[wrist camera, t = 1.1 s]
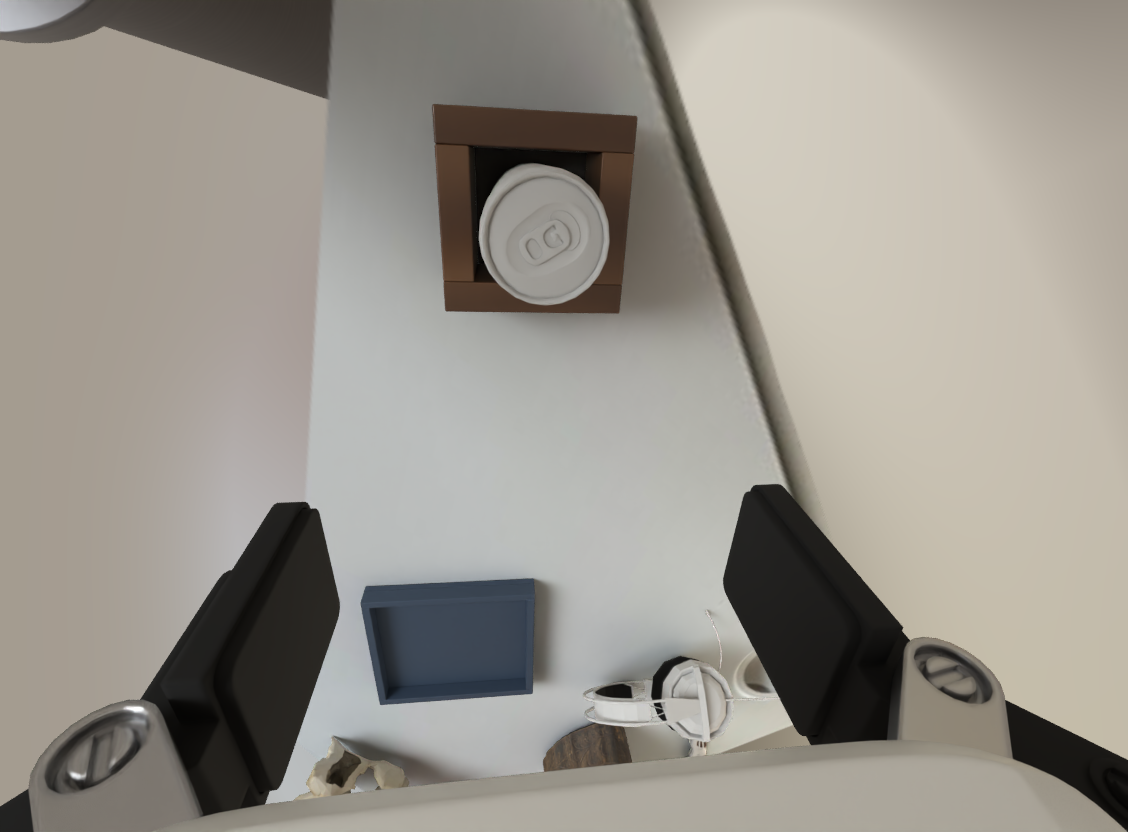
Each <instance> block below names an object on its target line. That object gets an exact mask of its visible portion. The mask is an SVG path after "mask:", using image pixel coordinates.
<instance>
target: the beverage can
mask: <svg viewBox="0 0 1128 832" xmlns="http://www.w3.org/2000/svg"><path fill="white" fill-rule="evenodd" d="M479 243H480V249H481V254H482V258H483V260H484V262H485V264H486V267H487V269H488V271H489V273H490V274H491V275H492V277H493V278H494V279H495V280H496V282H497V283H498V284H499V285H500V286H501V287H502V288H503V289H505V290H506V291H507V292H509V293H510V294H511V295H513V296H514V297H516V298H518V299H521V300H523V301H525V302H528V303H531V304H539V305H553V304H560V303H564V302H566V301H568V300H571V299H573V298H576V297H577V296H579V295H580V294H581V293H583V292H584V291H585V290H587V289H588V288H589V287H590V286H591V285H592V283H593V282H594V281H595V280H596V278H597V277H598V276H599V275H600V272H601V270H602V268H603V266H604V264H605V261H606V259H607V253H608V248H609V243H610V242H609V224H608V219H607V216H606V213H605V210H604V207H603V204H602V202H601V201H600V199H599V198H598V196H597V195H596V193H595V192H594V190H593V189H592V188H591V187H590V186H589V185H588V184H587V183H586V182H584V181H583V180H582V179H581V178H580V177H579V176H577V175H575V174H573V173H570V172H568V171H566V170H564V169H562V168H557V167H552V166H547V165H543V164H537V163H531V162H530V163H522V164H518V165H516V166H513V167H511V168H509V169H508V170H507V171H506V172H505V173H504V174H503V175H502V176H501V177H500V178H499V179H498V181H497V182H496V184H495V186H494V187H493V189H492V192H491V194H490V196H489V197H488V199H487V201H486V204H485V207H484V210H483V213H482V215H481V218H480V227H479Z"/></svg>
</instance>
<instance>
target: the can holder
mask: <svg viewBox="0 0 1128 832" xmlns="http://www.w3.org/2000/svg"><path fill="white" fill-rule="evenodd" d="M432 112H433V127H434V142H435V143H436V144H435V158H436V173H437V189H438V204H439V220H440V235H441V251H442V266H443V280H444V298H445V310H446V311H458V312H537V313H616V314H618V313H619V311H620V301H621V290H622V279H623V269H624V258H625V247H626V237H627V226H628V215H629V204H630V194H631V183H632V172H633V162H634V154H632V153H634V149H635V139H636V128H637V116H631V115H614V114H597V113H579V112H562V111H545V110H528V109H511V108H494V107H477V106H460V105H443V104H433V105H432ZM474 147H480V148H500V149H520V150H541V151H561V152H581V153H587V154H586V173H585V182H586V183H587V184H588V185H589V186H590V187H591V188H592V189H593V190H594V192H595V193H596V195H597V196H598V198H599V199H600V201H601V202H602V204H603V207H604V210H605V213H606V216H607V219H608V224H609V242H610V243H609V248H608V253H607V259H606V261H605V264H604V266H603V268H602V270H601V272H600V275H599V276H598V277H597V278H596V280H595V281H594V282H593V283H592V285H591V286H590V287H589V288H588V289H587V290H585V291H584V292H583V293H581V294H580V295H579V296H577V297H576V298H573V299H571V300H568V301H566V302H564V303H560V304H553V305H539V304H531V303H528V302H525V301H523V300H521V299H518V298H516V297H514V296H513V295H511V294H510V293H509V292H507V291H506V290H505V289H503V288H502V287H501V286H500V285H499V284H498V283H497V282H496V280H495V279H494V278H493V277H492V275H491V274H490V273H489V271H488V269H487V267H486V264H478V236H477V206H476V176H475V149H474Z"/></svg>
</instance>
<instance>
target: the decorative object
mask: <svg viewBox="0 0 1128 832" xmlns="http://www.w3.org/2000/svg"><path fill="white" fill-rule="evenodd" d="M367 768H371V769H373V770H374V778H375V779H376V781H377V783H378V785H379V786H377V788H376V789H375V790H383V789H392V788H401V787H408V785H409V781H408V779H407V778H406V777H405V774H404V771H403V770H402V768H401V767H398V766H395V765H392V764H391V763H389V762H387V761H385V760H381V761H373V760H368V759H365V758H363V757H361V756H359V755H357V754H354V753H352V752H350V751H349V750H347V749H346V748H345V747H344V746H342V744H341V743H340V742H339V741H338V740H336V739H335V738H334V737H332V744H331V746H330V747H329V750H328V755H327V757H326V758H322V759H321V760H320V761H318V762H317V763H316V764H315V765H314V767H313V770H312V772H311V775H310V777H309V779H308V780H307V782H306V785H307V786H308V788H309V789H310V792H308V793H305V794H302V795H299V796H298V797H297V798H295V799H294V800H293V801H295V800H303V799H311V798H318V797H326V796H334V795H342V794H350V793H351V789H355V782H356V779H357V776H359V775H361V774H364V773H365V771H366V769H367Z"/></svg>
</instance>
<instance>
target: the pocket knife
mask: <svg viewBox="0 0 1128 832" xmlns="http://www.w3.org/2000/svg"><path fill="white" fill-rule="evenodd" d="M689 743H690V744H691V749H690V751H689V752H688V755H689V757H694V756H704V755H706V742H701V741H696V740H691V739H690V740H689Z"/></svg>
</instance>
